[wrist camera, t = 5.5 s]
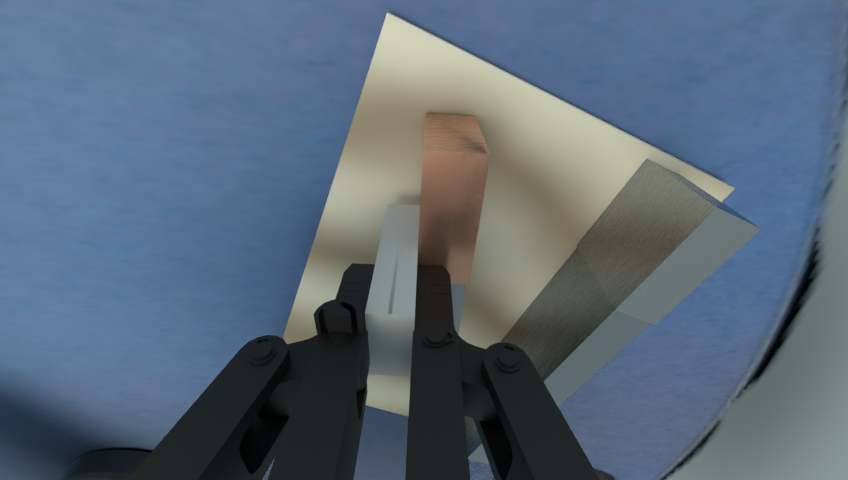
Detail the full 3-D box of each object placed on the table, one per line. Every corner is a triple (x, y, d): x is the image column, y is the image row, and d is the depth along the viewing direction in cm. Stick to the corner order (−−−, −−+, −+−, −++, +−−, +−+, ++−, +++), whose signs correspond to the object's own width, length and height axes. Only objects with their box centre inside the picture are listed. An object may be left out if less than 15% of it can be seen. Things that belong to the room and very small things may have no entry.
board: (485, 427, 28) (486, 437, 28) (273, 369, 25) (269, 379, 24) (722, 181, 17) (734, 188, 16) (389, 12, 14) (387, 12, 13)
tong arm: (439, 389, 24) (440, 461, 20) (409, 387, 24) (405, 459, 20) (475, 115, 15) (490, 154, 11) (425, 112, 15) (423, 150, 11)
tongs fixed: (456, 430, 27) (460, 510, 23) (409, 417, 27) (405, 498, 22) (682, 175, 16) (776, 238, 12) (612, 141, 15) (685, 195, 11)
